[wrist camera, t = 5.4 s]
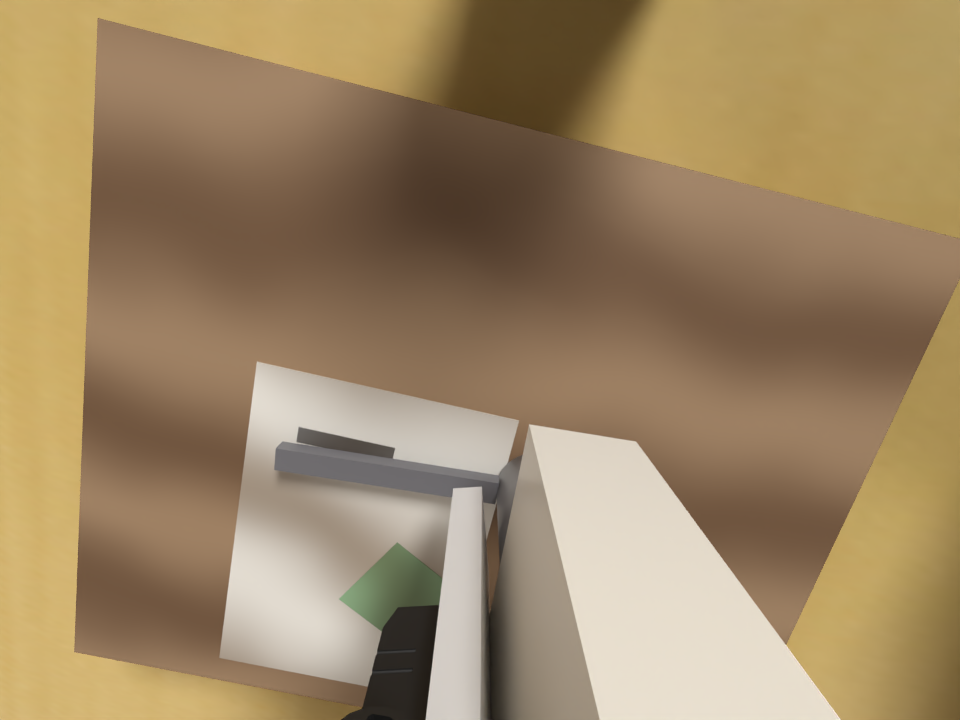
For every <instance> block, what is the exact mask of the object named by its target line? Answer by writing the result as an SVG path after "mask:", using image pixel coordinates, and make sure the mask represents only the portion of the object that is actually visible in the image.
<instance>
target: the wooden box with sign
mask: <svg viewBox="0 0 960 720" xmlns="http://www.w3.org/2000/svg"><path fill="white" fill-rule="evenodd" d="M959 279H960V239H959V238H955V237H951V236H947V235H943V234H939V233H935V232H931V231H928V230H924V229H920V228H916V227H912V226H908V225H904V224H900V223H896V222H892V221H888V220H885V219H881V218H877V217H873V216H869V215H865V214H861V213H857V212H853V211H849V210H845V209H842V208H838V207H834V206H830V205H826V204H822V203H818V202H814V201H810V200H806V199H802V198H799V197H795V196H791V195H787V194H783V193H779V192H775V191H771V190H767V189H763V188H760V187H756V186H752V185H748V184H744V183H740V182H736V181H732V180H728V179H724V178H720V177H717V176H713V175H709V174H705V173H701V172H697V171H693V170H689V169H685V168H681V167H677V166H674V165H670V164H666V163H662V162H658V161H654V160H650V159H646V158H642V157H638V156H634V155H631V154H627V153H623V152H619V151H615V150H611V149H607V148H603V147H599V146H595V145H592V144H588V143H584V142H580V141H576V140H572V139H568V138H564V137H560V136H556V135H552V134H549V133H545V132H541V131H537V130H533V129H529V128H525V127H521V126H517V125H513V124H509V123H506V122H502V121H498V120H494V119H490V118H486V117H482V116H478V115H474V114H470V113H466V112H463V111H459V110H455V109H451V108H447V107H443V106H439V105H435V104H431V103H427V102H423V101H420V100H416V99H412V98H408V97H404V96H400V95H396V94H392V93H388V92H384V91H381V90H377V89H373V88H369V87H365V86H361V85H357V84H353V83H349V82H345V81H341V80H338V79H334V78H330V77H326V76H322V75H318V74H314V73H310V72H306V71H302V70H298V69H295V68H291V67H287V66H283V65H279V64H275V63H271V62H267V61H263V60H259V59H255V58H252V57H248V56H244V55H240V54H236V53H232V52H228V51H224V50H220V49H216V48H213V47H209V46H205V45H201V44H197V43H193V42H189V41H185V40H181V39H177V38H173V37H170V36H166V35H162V34H158V33H154V32H150V31H146V30H142V29H138V28H134V27H130V26H127V25H123V24H119V23H115V22H111V21H107V20H103V19H99V18H98V26H97V53H96V80H95V107H94V134H93V162H92V189H91V216H90V243H89V270H88V297H87V324H86V351H85V378H84V405H83V432H82V460H81V487H80V514H79V541H78V568H77V595H76V622H75V649H74V652H77V653H82V654H87V655H93V656H98V657H103V658H108V659H113V660H119V661H124V662H129V663H134V664H140V665H145V666H150V667H155V668H160V669H166V670H171V671H176V672H181V673H187V674H192V675H197V676H202V677H207V678H213V679H218V680H223V681H228V682H234V683H239V684H244V685H249V686H254V687H260V688H265V689H270V690H275V691H281V692H286V693H291V694H296V695H301V696H307V697H312V698H317V699H322V700H328V701H333V702H338V703H343V704H348V705H354V706H359V707H363V703H364V699H365V695H366V692H367V688H368V684H369V680H370V676H371V675H372V668H373V664H374V660H375V656H376V655H377V649H378V645H379V641H380V637H381V633H382V629H383V627H384V625H385V624H386V623H387V621H388V620H389V619H390V617H391V616H392V615H393V613H394V612H395V611H396V609H397V608H398V607H411V606H429V605H439V603H440V595H441V587H442V578H443V570H444V561H445V553H446V545H447V536H448V528H449V520H450V511H451V503H452V498H451V497H444V496H438V495H432V494H425V493H419V492H412V491H406V490H399V489H393V488H387V487H380V486H374V485H367V484H361V483H354V482H348V481H341V480H335V479H329V478H322V477H316V476H309V475H303V474H296V473H290V472H284V471H277V470H274V465H275V451H276V448H277V446H278V445H279V444H280V443H281V442H282V441H283V442H290V443H296V444H303V445H309V446H315V447H322V448H328V449H334V450H341V451H347V452H353V453H360V454H366V455H372V456H379V457H385V458H391V459H398V460H404V461H411V462H417V463H423V464H430V465H436V466H442V467H449V468H455V469H461V470H468V471H474V472H480V473H487V474H493V475H499V474H500V472H501V471H502V469H503V468H504V467H505V466H506V465H507V464H508V463H509V462H510V461H511V460H513V459H515V458H516V457H518V456H521V455H523V451H524V446H525V442H526V437H527V432H528V427H529V424H530V425H537V426H543V427H549V428H555V429H561V430H568V431H574V432H580V433H586V434H592V435H599V436H605V437H611V438H617V439H623V440H629V441H636V442H637V443H638V445H639V446H640V447H641V449H642V450H643V452H644V453H645V454H646V456H647V457H648V458H649V460H650V461H651V462H652V464H653V465H654V466H655V468H656V469H657V471H658V472H659V473H660V475H661V476H662V477H663V479H664V480H665V481H666V483H667V484H668V486H669V487H670V488H671V490H672V491H673V492H674V494H675V495H676V496H677V498H678V499H679V500H680V502H681V503H682V505H683V506H684V507H685V509H686V510H687V511H688V513H689V514H690V515H691V517H692V518H693V519H694V521H695V522H696V524H697V525H698V526H699V528H700V529H701V530H702V532H703V533H704V534H705V536H706V537H707V539H708V540H709V541H710V543H711V544H712V545H713V547H714V548H715V549H716V551H717V552H718V553H719V555H720V556H721V558H722V559H723V560H724V562H725V563H726V564H727V566H728V567H729V568H730V570H731V571H732V573H733V574H734V575H735V577H736V578H737V579H738V581H739V582H740V583H741V585H742V586H743V587H744V589H745V590H746V592H747V593H748V594H749V596H750V597H751V598H752V600H753V601H754V602H755V604H756V605H757V607H758V608H759V609H760V611H761V612H762V613H763V615H764V616H765V617H766V619H767V620H768V621H769V623H770V624H771V626H772V627H773V628H774V630H775V631H776V632H777V634H778V635H779V636H780V638H781V639H782V640H783V642H784V643H785V645H786V644H787V642H788V640H789V637H790V635H791V633H792V631H793V629H794V627H795V625H796V623H797V621H798V619H799V616H800V614H801V612H802V610H803V608H804V606H805V604H806V602H807V600H808V597H809V595H810V593H811V591H812V589H813V587H814V585H815V583H816V581H817V578H818V576H819V574H820V572H821V570H822V568H823V566H824V564H825V562H826V560H827V557H828V555H829V553H830V551H831V549H832V547H833V545H834V543H835V541H836V538H837V536H838V534H839V532H840V530H841V528H842V526H843V524H844V522H845V519H846V517H847V515H848V513H849V511H850V509H851V507H852V505H853V503H854V501H855V498H856V496H857V494H858V492H859V490H860V488H861V486H862V484H863V482H864V479H865V477H866V475H867V473H868V471H869V469H870V467H871V465H872V463H873V460H874V458H875V456H876V454H877V452H878V450H879V448H880V446H881V444H882V442H883V439H884V437H885V435H886V433H887V431H888V429H889V427H890V425H891V423H892V420H893V418H894V416H895V414H896V412H897V410H898V408H899V406H900V404H901V401H902V399H903V397H904V395H905V393H906V391H907V389H908V387H909V385H910V383H911V380H912V378H913V376H914V374H915V372H916V370H917V368H918V366H919V364H920V361H921V359H922V357H923V355H924V353H925V351H926V349H927V347H928V345H929V343H930V340H931V338H932V336H933V334H934V332H935V330H936V328H937V326H938V324H939V321H940V319H941V317H942V315H943V313H944V311H945V309H946V307H947V305H948V302H949V300H950V298H951V296H952V294H953V292H954V290H955V288H956V286H957V284H958V281H959ZM483 507H484V519H485V531H486V544H487V556H488V569H489V605H490V611H491V606H492V601H493V596H494V591H495V587H496V582H497V577H498V572H499V567H500V560H499V539H498V519H497V498H496V503H495V504H490V503H483Z"/></svg>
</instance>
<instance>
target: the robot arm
mask: <svg viewBox="0 0 960 720" xmlns="http://www.w3.org/2000/svg"><path fill="white" fill-rule="evenodd" d="M342 720H491V680H490V605H489V569H488V556H487V544H486V531H485V519H484V507H483V494H482V487H468V488H453V494H452V503H451V511H450V520H449V528H448V536H447V545H446V553H445V561H444V570H443V578H442V587H441V595H440V603H439V605H429V606H411V607H398V608H397V609H396V611H395V612H394V613H393V615H392V616H391V617H390V619H389V620H388V621H387V623H386V624H385V625H384V627H383V629H382V633H381V637H380V641H379V645H378V649H377V655H376V656H375V660H374V664H373V668H372V675H371V676H370V680H369V684H368V688H367V692H366V695H365V699H364V703H363V707H362V709H361V710H358V711H355V712H352V713H350V714H348V715H347V716H346V717H344V718H343V719H342Z"/></svg>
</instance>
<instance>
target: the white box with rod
mask: <svg viewBox="0 0 960 720" xmlns="http://www.w3.org/2000/svg"><path fill="white" fill-rule="evenodd" d="M274 470H277V471H284V472H290V473H296V474H303V475H309V476H316V477H322V478H329V479H335V480H341V481H348V482H354V483H361V484H367V485H374V486H380V487H387V488H393V489H399V490H406V491H412V492H419V493H425V494H432V495H438V496H444V497H451V498H452V494H453V488H468V487H482V494H483V503H490V504H495V503H496V498H497V519H498V539H499V560H500V567H499V572H498V577H497V582H496V587H495V591H494V596H493V601H492V606H491V611H490V680H491V720H841V719H840V718H839V717H838V715H837V714H836V713H835V711H834V710H833V708H832V707H831V706H830V704H829V703H828V702H827V700H826V699H825V698H824V696H823V695H822V694H821V692H820V691H819V689H818V688H817V687H816V685H815V684H814V683H813V681H812V680H811V679H810V677H809V676H808V674H807V673H806V672H805V670H804V669H803V668H802V666H801V665H800V664H799V662H798V661H797V660H796V658H795V657H794V655H793V654H792V653H791V651H790V650H789V649H788V647H787V646H786V645H785V643H784V642H783V640H782V639H781V638H780V636H779V635H778V634H777V632H776V631H775V630H774V628H773V627H772V626H771V624H770V623H769V621H768V620H767V619H766V617H765V616H764V615H763V613H762V612H761V611H760V609H759V608H758V607H757V605H756V604H755V602H754V601H753V600H752V598H751V597H750V596H749V594H748V593H747V592H746V590H745V589H744V587H743V586H742V585H741V583H740V582H739V581H738V579H737V578H736V577H735V575H734V574H733V573H732V571H731V570H730V568H729V567H728V566H727V564H726V563H725V562H724V560H723V559H722V558H721V556H720V555H719V553H718V552H717V551H716V549H715V548H714V547H713V545H712V544H711V543H710V541H709V540H708V539H707V537H706V536H705V534H704V533H703V532H702V530H701V529H700V528H699V526H698V525H697V524H696V522H695V521H694V519H693V518H692V517H691V515H690V514H689V513H688V511H687V510H686V509H685V507H684V506H683V505H682V503H681V502H680V500H679V499H678V498H677V496H676V495H675V494H674V492H673V491H672V490H671V488H670V487H669V486H668V484H667V483H666V481H665V480H664V479H663V477H662V476H661V475H660V473H659V472H658V471H657V469H656V468H655V466H654V465H653V464H652V462H651V461H650V460H649V458H648V457H647V456H646V454H645V453H644V452H643V450H642V449H641V447H640V446H639V445H638V443H637V442H636V441H629V440H623V439H617V438H611V437H605V436H599V435H592V434H586V433H580V432H574V431H568V430H561V429H555V428H549V427H543V426H537V425H530V424H529V427H528V432H527V437H526V442H525V446H524V451H523V455H521V456H518V457H516V458H515V459H513V460H511V461H510V462H509V463H508V464H507V465H506V466H505V467H504V468H503V469H502V471H501V472H500V474H499V475H493V474H487V473H480V472H474V471H468V470H461V469H455V468H449V467H442V466H436V465H430V464H423V463H417V462H411V461H404V460H398V459H391V458H385V457H379V456H372V455H366V454H360V453H353V452H347V451H341V450H334V449H328V448H322V447H315V446H309V445H303V444H296V443H290V442H283V441H282V442H281V443H280V444H279V445H278V446H277V448H276V451H275V465H274Z"/></svg>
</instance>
